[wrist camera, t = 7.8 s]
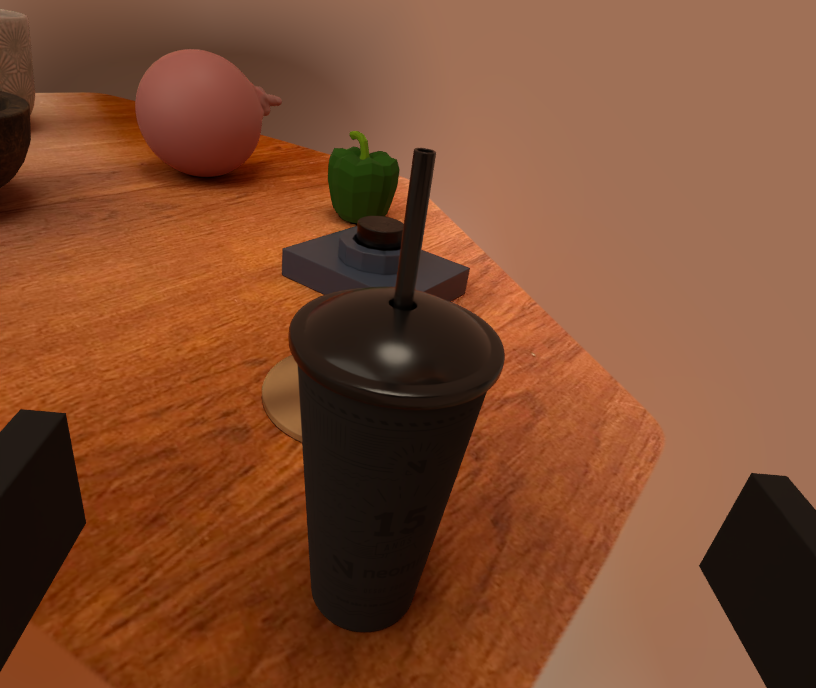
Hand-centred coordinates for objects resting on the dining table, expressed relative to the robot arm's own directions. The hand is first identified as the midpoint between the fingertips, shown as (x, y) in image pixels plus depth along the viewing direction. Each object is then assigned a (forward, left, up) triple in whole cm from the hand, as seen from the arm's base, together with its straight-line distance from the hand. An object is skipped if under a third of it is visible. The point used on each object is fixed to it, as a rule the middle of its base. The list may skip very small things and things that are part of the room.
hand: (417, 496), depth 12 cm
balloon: (+77, -16, -16) cm, 80 cm away
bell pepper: (+57, -28, -16) cm, 65 cm away
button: (+39, -21, -11) cm, 45 cm away
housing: (+39, -21, -15) cm, 46 cm away
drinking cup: (+9, -5, -16) cm, 18 cm away
